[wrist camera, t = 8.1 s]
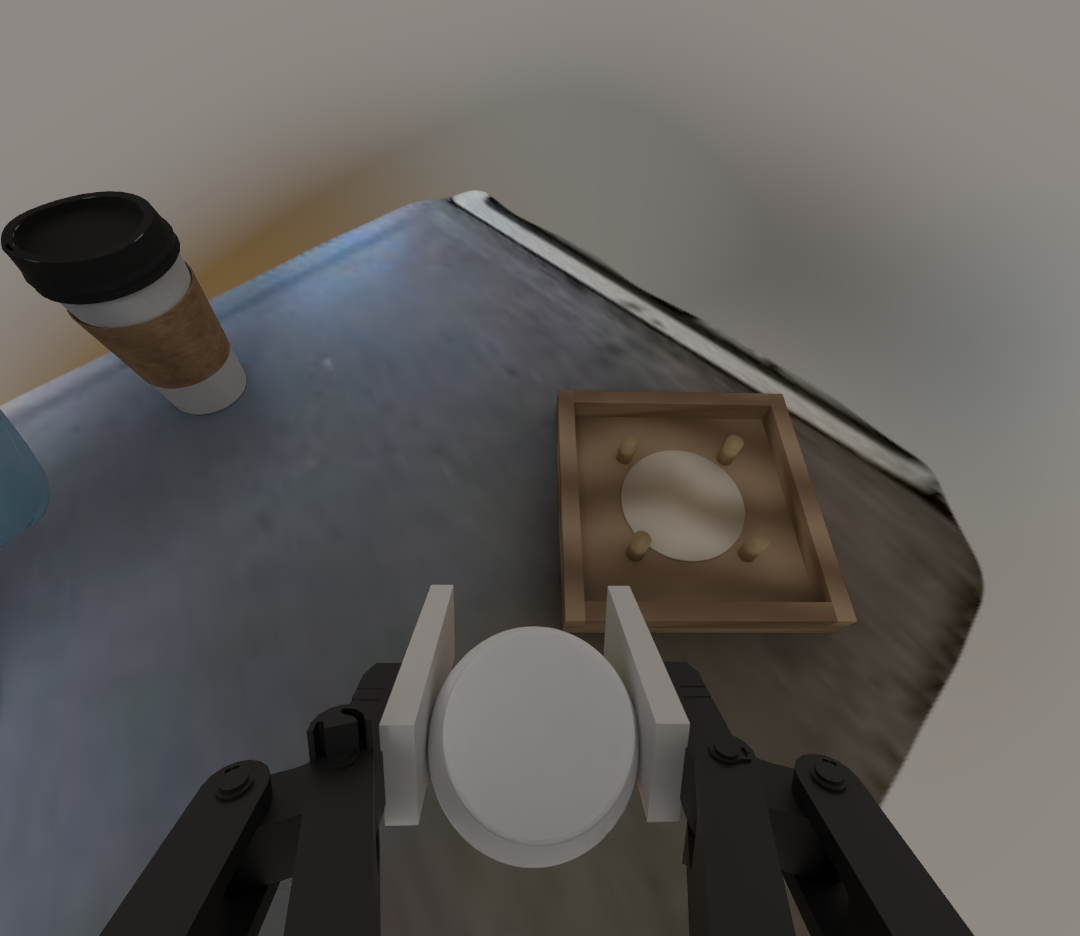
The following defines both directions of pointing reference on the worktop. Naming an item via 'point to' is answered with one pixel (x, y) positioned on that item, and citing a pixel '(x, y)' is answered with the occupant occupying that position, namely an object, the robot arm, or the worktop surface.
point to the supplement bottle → (533, 747)
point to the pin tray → (691, 515)
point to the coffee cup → (129, 293)
